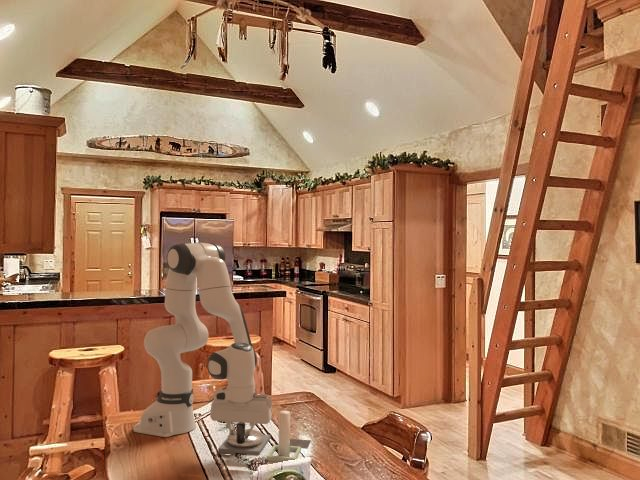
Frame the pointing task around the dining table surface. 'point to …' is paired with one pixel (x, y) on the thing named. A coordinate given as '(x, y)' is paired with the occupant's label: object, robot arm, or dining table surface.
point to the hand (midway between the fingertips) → (240, 434)
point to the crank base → (229, 449)
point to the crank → (244, 437)
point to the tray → (281, 458)
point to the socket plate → (300, 443)
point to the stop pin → (284, 433)
